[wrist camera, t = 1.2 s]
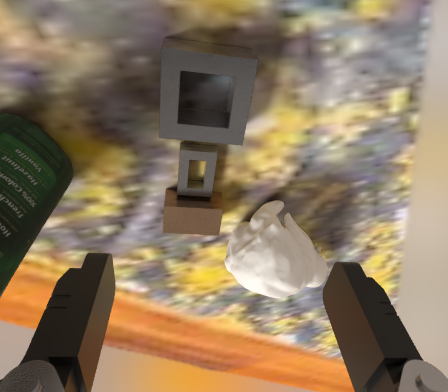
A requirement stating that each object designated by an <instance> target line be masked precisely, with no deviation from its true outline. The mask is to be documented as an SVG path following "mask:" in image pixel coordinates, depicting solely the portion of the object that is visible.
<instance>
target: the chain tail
mask: <svg viewBox="0 0 448 392" xmlns="http://www.w3.org/2000/svg"><path fill="white" fill-rule="evenodd" d="M217 154H218V152H217V146H210V145H199V144H187V143H180V157H179V172H178V187H177V190H176V189H166V194H165V203H164V221H163V233H181V234H200V235H219V231H220V226H221V220H222V214H223V203H222V194H221V193H218V192H212V190H213V183H214V176H215V169H216V162H217ZM189 160H200V161H205V169H204V177H203V181H192V180H188V170H189Z"/></svg>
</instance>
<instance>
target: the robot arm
mask: <svg viewBox="0 0 448 392" xmlns="http://www.w3.org/2000/svg"><path fill="white" fill-rule="evenodd" d="M114 296H115V276H114V267H113V259H112V254H111V253H88V254H87V255H86V257H85V260H84V263H83V265H82V268H70V269H69V270H68V271H67V272H66V273H65V274H64V275H63V276H62V277H61V278H60V279H59V280H58V281H57V284H56V286H55V288H54V290H53V293H52V297H51V298H50V300H49V302H48V304H47V306H46V310H45V311H44V313H43V315H42V318H41V320H40V322H39V325H38V327H37V329H36V331H35V334H34V336H33V338H32V341H31V343H30V345H29V348H28V350H27V352H26V354H25V356H24V358H23V360H22V361H21V363H20V364H19V365H18V366H17V367H16V368H14V369H13V370H12V371H10V372H9V373H8V374H7V375H6V376H5V377H4V378H3V379H2V380H0V392H91V388H92V385H93V381H94V377H95V373H96V369H97V365H98V361H99V357H100V353H101V349H102V345H103V341H104V337H105V333H106V329H107V325H108V321H109V317H110V313H111V309H112V305H113V301H114ZM323 302H324V306H325V309H326V312H327V314H328V317H329V320H330V323H331V326H332V329H333V331H334V334H335V337H336V340H337V343H338V345H339V348H340V351H341V354H342V357H343V359H344V362H345V365H346V368H347V371H348V373H349V376H350V379H351V382H352V385H353V388H354V390H355V392H448V379H447V378H446V377H445V375H444V374H443V373H442V372H441V371H440V370H438V369H437V368H436V367H434V366H433V365H431V364H429V363H427V362H425V361H423V359H422V358H421V356H420V354H419V352H418V351H417V349H416V347H415V345H414V343H413V342H412V340H411V338H410V336H409V334H408V332H407V331H406V329H405V327H404V325H403V324H402V322H401V320H400V318H399V316H397V313H396V311H395V309H394V307H393V305H391V302H390V300H389V298H388V296H387V294H386V293H385V291H384V289H383V288H382V287H381V286H380V285H379V284H378V283H377V282H376V281H375V280H374V279H373V278H372V277H366V275H365V273H364V271H363V269H362V267H361V266H360V264H358V263H356V262H336V263H335V264H334V266H333V268H332V270H331V273H330V275H329V277H328V279H327V282H326V284H325V286H324V289H323Z"/></svg>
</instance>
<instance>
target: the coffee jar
mask: <svg viewBox="0 0 448 392" xmlns="http://www.w3.org/2000/svg"><path fill="white" fill-rule="evenodd" d="M72 177H73V168H72V164H71V162H70V160H69V158H68V156H67V155H66V154H65V152H64V151H63V150H62V149H61V147H60V146H59V145H58V144H57V143H56V142H55V141H54V140H53V139H52V138H51V137H50V136H49V135H48V134H47V133H46V132H45V131H43V130H42V129H41V128H40V127H38V126H37V125H35V124H34V123H32V122H31V121H29V120H27V119H25V118H23V117H20V116H17V115H14V114H7V113H2V114H0V298H1V296H2V294H3V292H4V290H5V288H6V287H7V285H8V283H9V281H10V280H11V278H12V276H13V275H14V273H15V271H16V270H17V268H18V267H19V265H20V263H21V262H22V260H23V258H24V257H25V255H26V253H27V252H28V250H29V249H30V247H31V245H32V244H33V242H34V240H35V239H36V237H37V235H38V234H39V232H40V231H41V229H42V227H43V226H44V224H45V223H46V221H47V220H48V218H49V216H50V215H51V213H52V212H53V210H54V209H55V207H56V206H57V204H58V203H59V201H60V199H61V198H62V196H63V194H64V193H65V191H66V189H67V188H68V186H69V184H70V183H71V180H72Z"/></svg>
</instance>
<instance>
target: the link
mask: <svg viewBox="0 0 448 392" xmlns="http://www.w3.org/2000/svg"><path fill="white" fill-rule="evenodd" d="M257 65H258V58H257V57H256V55H255V53H254V52H253V50H252V49H250V48H242V47H235V46H227V45H220V44H212V43H204V42H197V41H189V40H182V39H174V38H167V37H165V39H164V42H163V45H162V47H161V85H160V126H159V138H167V139H178V140H189V141H200V142H211V143H222V144H233V145H243V139H244V134H245V129H246V124H247V118H248V113H249V108H250V102H251V97H252V92H253V87H254V81H255V76H256V71H257ZM181 71H189V72H198V73H206V74H214V75H223V76H231V78H230V85H229V91H228V98H227V105H226V112H219V111H209V110H200V109H190V108H181V107H179V98H180V81H181Z"/></svg>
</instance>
